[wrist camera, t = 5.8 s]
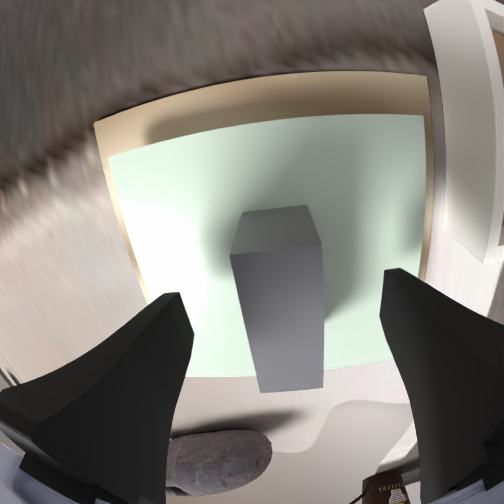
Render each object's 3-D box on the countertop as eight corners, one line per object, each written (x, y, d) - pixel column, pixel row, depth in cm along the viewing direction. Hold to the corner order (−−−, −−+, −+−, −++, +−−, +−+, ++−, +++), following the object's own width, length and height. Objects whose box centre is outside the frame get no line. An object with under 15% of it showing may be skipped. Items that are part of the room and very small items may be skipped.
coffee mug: (414, 467, 30) (423, 513, 21) (374, 485, 33) (379, 528, 24) (378, 465, 27) (386, 523, 18) (333, 483, 31) (336, 535, 22)
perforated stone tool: (256, 410, 20) (250, 484, 14) (288, 432, 22) (287, 497, 16) (145, 432, 25) (129, 482, 19) (178, 452, 27) (166, 499, 20)
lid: (389, 331, 15) (418, 405, 10) (193, 350, 17) (171, 425, 12) (400, 114, 10) (479, 121, 5) (131, 150, 12) (51, 177, 7)
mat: (408, 341, 16) (409, 344, 16) (177, 363, 18) (176, 366, 18) (423, 76, 9) (426, 75, 9) (96, 122, 11) (93, 123, 11)
